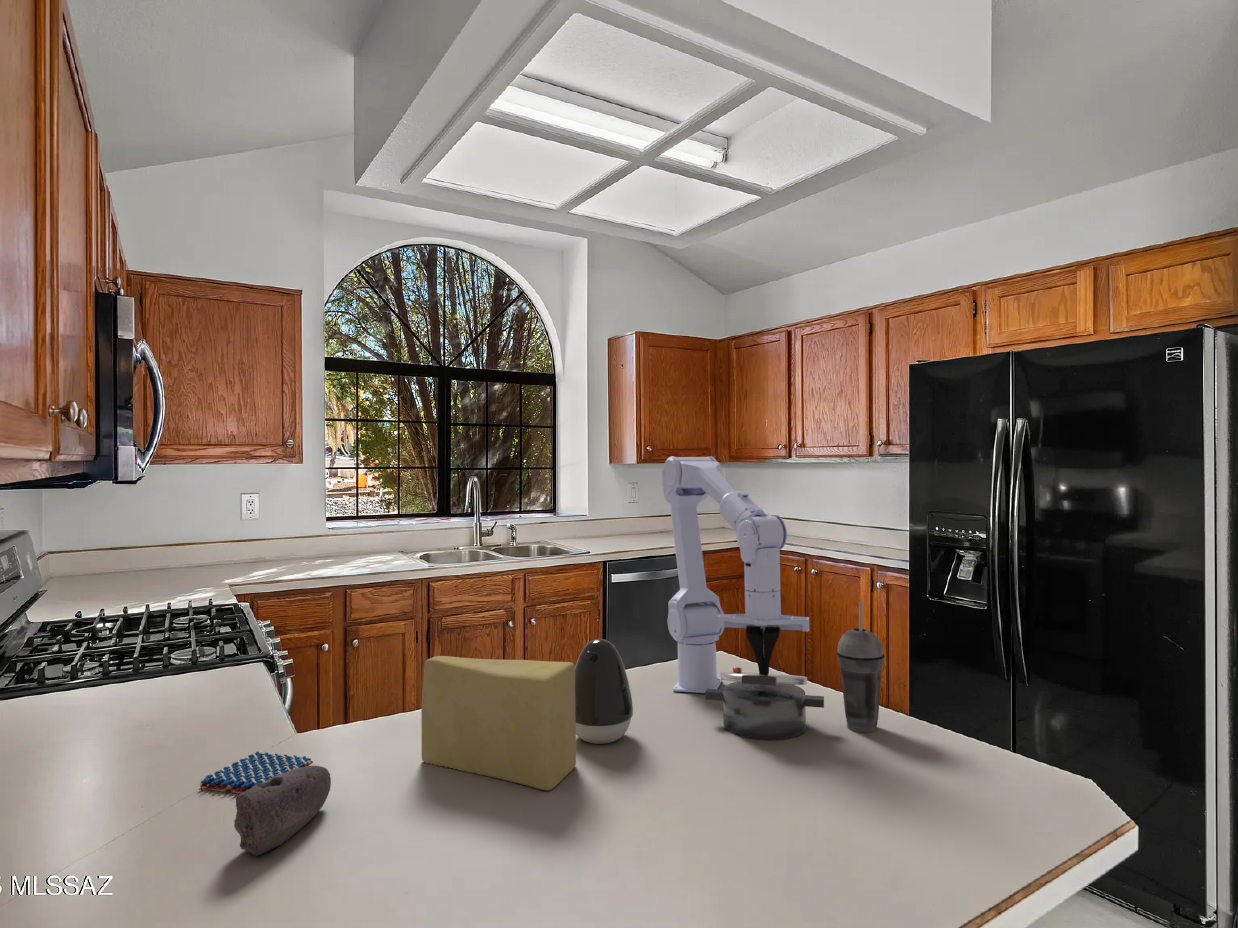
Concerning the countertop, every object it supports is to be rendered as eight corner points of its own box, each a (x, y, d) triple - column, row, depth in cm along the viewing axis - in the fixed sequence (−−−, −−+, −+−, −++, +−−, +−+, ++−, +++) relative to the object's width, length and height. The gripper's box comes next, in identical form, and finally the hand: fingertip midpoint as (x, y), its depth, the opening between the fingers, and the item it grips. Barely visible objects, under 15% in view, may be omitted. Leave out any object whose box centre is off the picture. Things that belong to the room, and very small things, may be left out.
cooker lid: (726, 677, 123) (726, 666, 124) (808, 682, 120) (807, 670, 120) (713, 681, 109) (713, 668, 109) (805, 687, 105) (805, 673, 106)
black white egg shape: (557, 747, 107) (555, 645, 108) (580, 724, 117) (579, 630, 117) (622, 753, 104) (620, 648, 105) (641, 729, 114) (639, 633, 115)
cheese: (402, 774, 98) (401, 664, 99) (442, 748, 108) (441, 648, 108) (549, 795, 91) (547, 676, 91) (579, 766, 100) (577, 658, 101)
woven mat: (317, 769, 102) (317, 754, 102) (261, 801, 91) (261, 785, 91) (256, 762, 104) (256, 748, 104) (195, 793, 94) (195, 778, 94)
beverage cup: (879, 720, 117) (876, 597, 117) (892, 736, 110) (889, 604, 110) (833, 719, 117) (831, 597, 118) (843, 735, 110) (840, 604, 111)
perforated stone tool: (311, 802, 90) (311, 746, 90) (348, 806, 89) (348, 749, 89) (216, 864, 76) (216, 797, 76) (257, 870, 74) (257, 802, 74)
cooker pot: (712, 708, 124) (712, 676, 124) (824, 716, 119) (823, 683, 119) (700, 734, 111) (699, 698, 112) (824, 744, 106) (823, 707, 107)
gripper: (714, 592, 115) (716, 677, 115) (807, 594, 111) (809, 682, 111) (720, 585, 122) (722, 666, 122) (808, 587, 118) (810, 670, 118)
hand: (764, 673), depth 117 cm, fingers closed, pressing on cooker lid
